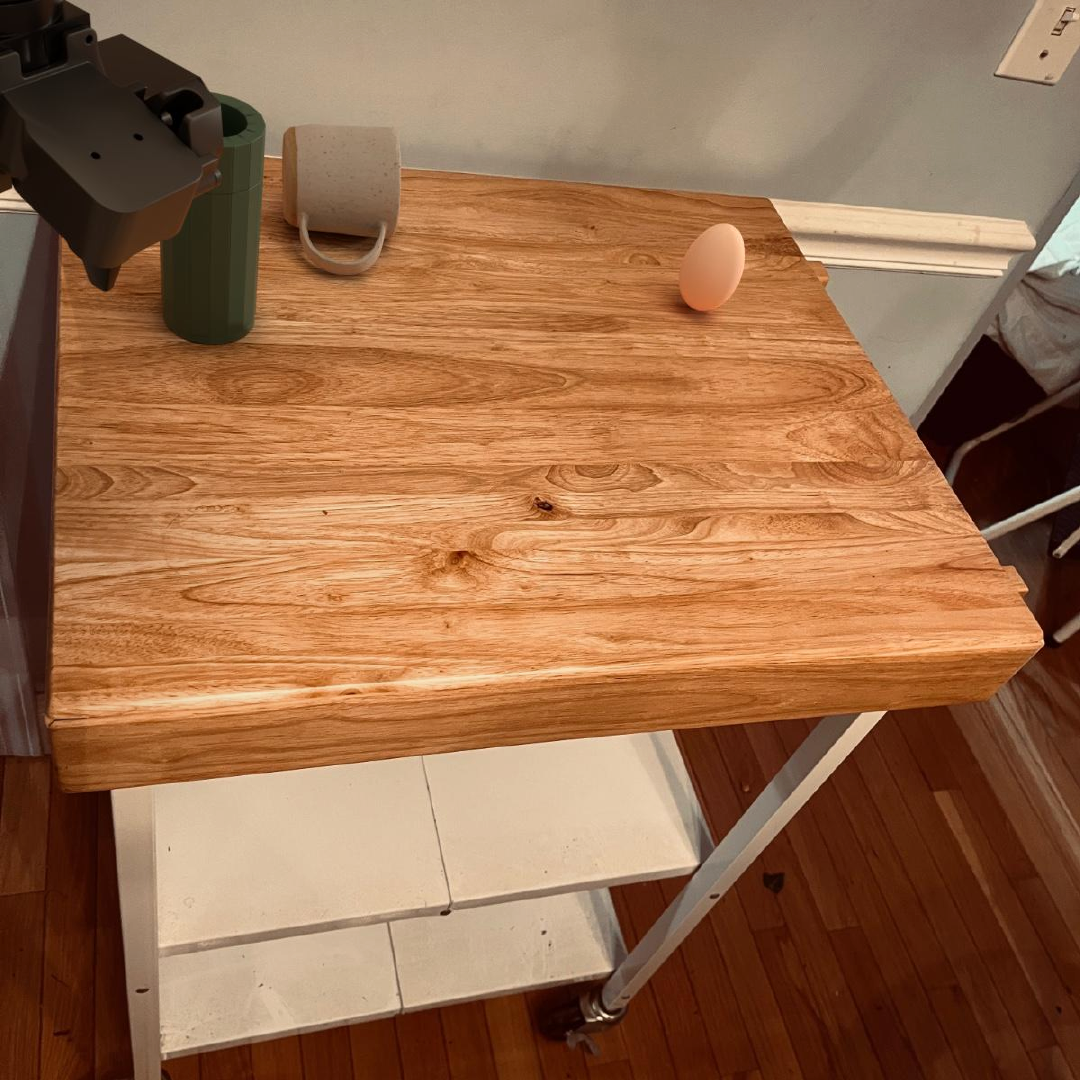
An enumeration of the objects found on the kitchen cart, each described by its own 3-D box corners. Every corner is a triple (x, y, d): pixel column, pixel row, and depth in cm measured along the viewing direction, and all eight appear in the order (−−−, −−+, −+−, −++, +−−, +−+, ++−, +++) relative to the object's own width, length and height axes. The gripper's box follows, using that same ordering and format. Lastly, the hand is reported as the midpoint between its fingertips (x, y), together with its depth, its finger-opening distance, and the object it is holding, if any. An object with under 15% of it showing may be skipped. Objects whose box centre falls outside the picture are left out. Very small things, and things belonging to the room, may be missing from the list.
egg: (734, 322, 85) (771, 242, 79) (687, 328, 83) (721, 247, 77) (704, 285, 87) (737, 206, 82) (657, 290, 85) (688, 209, 80)
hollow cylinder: (195, 355, 68) (195, 155, 57) (144, 303, 70) (136, 101, 59) (272, 328, 71) (285, 134, 61) (221, 279, 73) (227, 84, 63)
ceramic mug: (276, 189, 81) (282, 95, 76) (383, 199, 84) (397, 108, 78) (285, 277, 75) (292, 181, 69) (400, 285, 78) (417, 193, 72)
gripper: (-103, 166, 28) (-19, 543, 40) (332, 1, 41) (301, 325, 52) (-390, -11, 30) (-232, 397, 42) (108, -117, 43) (125, 220, 54)
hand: (22, 330), depth 47 cm, fingers open, 9 cm apart
